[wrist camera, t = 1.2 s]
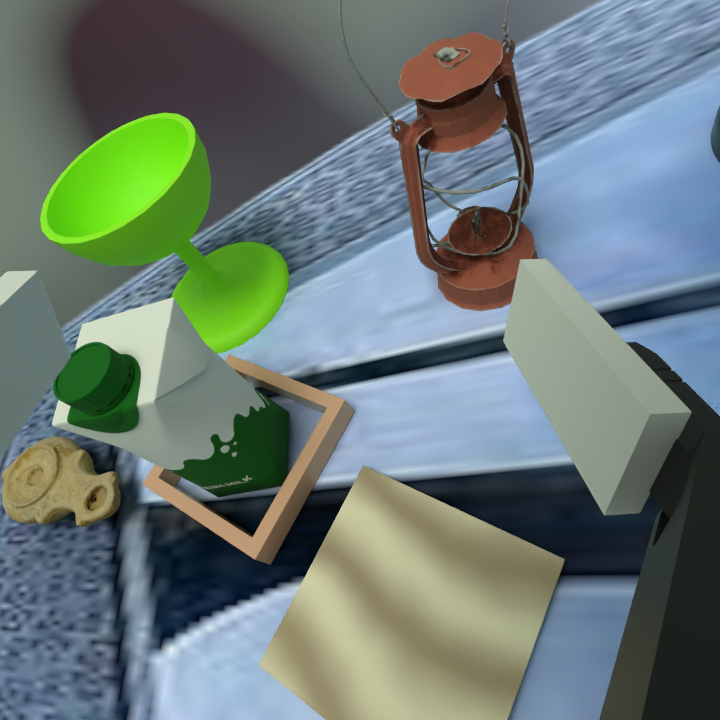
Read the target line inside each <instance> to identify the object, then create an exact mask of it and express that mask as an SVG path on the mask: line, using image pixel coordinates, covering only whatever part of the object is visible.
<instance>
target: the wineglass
mask: <svg viewBox="0 0 720 720" xmlns="http://www.w3.org/2000/svg"><path fill="white" fill-rule="evenodd" d="M210 189H211V176H210V169H209V164H208V159H207V154H206V150H205V148H204V146H203V144H202V142H201V140H200V138H199V136H198V134H197V132H196V130H195V128H194V127H193V125H192V124H191V122H190V121H189V120H188V119H187V118H185V117H183V116H181V115H179V114H171V113H161V114H155V115H149V116H145V117H143V118H140V119H137V120H134V121H132V122H129V123H127V124H125V125H123V126H121V127H119V128H117V129H115V130H113V131H111V132H110V133H109V134H107V135H106V136H104V137H102V138H101V139H99V140H98V141H97V142H95V143H94V144H92V145H91V146H90V147H89V148H88V149H86V150H85V151H84V152H83V153H82V154H80V155H79V156H78V157H77V158H76V159H75V160H74V161H73V162H72V163H71V164H70V165H69V166H68V167H67V168H66V170H65V171H64V172H63V173H62V174H61V175H60V177H59V178H58V180H57V181H56V182H55V184H54V185H53V187H52V188H51V190H50V192H49V194H48V196H47V198H46V200H45V202H44V204H43V208H42V212H41V216H40V221H41V228H42V231H43V232H44V234H45V235H46V236H47V237H48V238H49V239H50V240H51V241H53V242H54V243H56V244H58V245H59V246H61V247H62V248H64V249H65V250H67V251H68V252H70V253H72V254H74V255H77V256H80V257H83V258H86V259H89V260H92V261H95V262H98V263H101V264H104V265H117V266H139V265H143V264H147V263H151V262H154V261H157V260H159V259H162V258H164V257H167V256H169V255H171V254H173V253H174V252H175V253H176V254H177V255H178V256H179V257H180V258H181V259H182V260H183V261H184V262H185V264H186V265H187V266H188V267H189V268H190V269H189V270H188V271H187V273H186V274H185V275H184V276H183V278H182V279H181V280H180V282H179V283H178V284H177V286H176V288H175V290H174V292H173V294H172V296H171V298H174V299H175V300H176V302H177V303H178V305H179V306H180V308H181V309H182V311H183V312H184V313H185V315H186V316H187V318H188V319H189V321H190V322H191V324H192V325H193V327H194V328H195V330H196V331H197V332H198V334H199V335H200V337H201V338H202V340H203V341H204V342H205V344H207V345H208V346H209V347H210V348H211V349H212V350H213V351H214V352H215V353H216V354H217V353H222V352H226V351H228V350H230V349H233V348H235V347H237V346H240V345H242V344H243V343H245V342H246V341H248V340H249V339H251V338H252V337H254V336H255V335H257V334H258V333H259V332H260V331H261V330H262V329H263V328H264V327H265V326H266V325H267V324H268V323H269V322H270V321H271V320H272V318H273V317H274V315H275V314H276V312H277V311H278V310H279V308H280V307H281V305H282V302H283V300H284V298H285V295H286V293H287V290H288V282H289V272H288V267H287V263H286V261H285V260H284V258H283V257H282V255H281V254H280V253H279V252H278V251H276V250H275V249H273V248H272V247H270V246H268V245H265V244H261V243H257V242H239V243H235V244H231V245H227V246H224V247H222V248H220V249H218V250H215V251H213V252H211V253H210V254H208V255H207V256H205V257H203V256H202V254H201V253H200V252H199V251H198V250H197V249H196V248H195V247H194V245H193V244H192V243H191V242H190V241H189V240H190V239H191V237H192V236H193V235H194V234H195V232H196V231H197V229H198V227H199V225H200V223H201V222H202V220H203V218H204V216H205V214H206V212H207V208H208V204H209V199H210Z"/></svg>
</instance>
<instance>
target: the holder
mask: <svg viewBox="0 0 720 720" xmlns="http://www.w3.org/2000/svg"><path fill="white" fill-rule="evenodd" d="M225 362H226V363H227V364H229V365H230V366H231V367H232V368H233V369H234V370H235V371H236V372H237V373H239V374H240V375H241V376H242V377H243V378H244V379H245V380H246V381H249V382H251V383H254V384H256V385H258V386H261V387H263V388H265V389H268V390H270V391H272V392H275V393H277V394H280V395H282V396H284V397H287V398H289V399H291V400H294V401H296V402H299V403H301V404H303V405H306V406H308V407H310V408H313V409H315V410H317V411H320V412H322V413H324V414H323V415H322V417H321V419H320V421H319V422H318V424H317V426H316V428H315V429H314V431H313V433H312V435H311V436H310V438H309V440H308V442H307V443H306V445H305V447H304V449H303V450H302V452H301V454H300V456H299V457H298V459H297V461H296V462H295V464H294V466H293V468H292V469H291V471H290V473H289V475H288V476H287V478H286V480H285V482H284V483H283V485H282V487H281V489H280V490H279V492H278V494H277V496H276V497H275V499H274V501H273V503H272V504H271V506H270V508H269V510H268V511H267V513H266V515H265V517H264V518H263V520H262V522H261V524H260V525H259V527H258V529H257V531H256V532H255V534H254V535H253V534H251V533H250V532H248V531H246V530H245V529H243V528H242V527H240V526H238V525H237V524H235V523H234V522H232V521H231V520H229V519H227V518H226V517H224V516H223V515H221V514H220V513H218V512H216V511H215V510H213V509H212V508H210V507H209V506H207V505H205V504H204V503H202V502H201V501H199V500H198V499H196V498H194V497H193V496H191V495H190V494H188V493H186V492H185V491H183V490H182V489H180V488H179V487H177V486H175V485H176V484H177V482H178V480H179V479H180V476H178V475H176V474H174V473H172V472H170V471H168V470H166V469H164V468H162V467H160V466H158V465H156V464H155V466H154V467H153V469H152V470H151V472H150V473H149V475H148V476H147V478H146V479H145V481H144V482H143V485H144V486H146V487H147V488H149V489H150V490H152V491H153V492H155V493H156V494H158V495H159V496H161V497H162V498H164V499H165V500H167V501H168V502H170V503H171V504H173V505H174V506H176V507H177V508H179V509H180V510H182V511H183V512H185V513H186V514H188V515H189V516H191V517H192V518H194V519H195V520H197V521H198V522H200V523H201V524H203V525H204V526H206V527H207V528H209V529H210V530H212V531H213V532H215V533H216V534H218V535H219V536H221V537H222V538H224V539H225V540H227V541H228V542H230V543H231V544H233V545H234V546H236V547H237V548H239V549H240V550H242V551H243V552H245V553H246V554H248V555H249V556H251V557H252V558H254V559H255V560H258V561H261V562H264V563H267V564H270V565H271V563H272V561H273V559H274V557H275V555H276V554H277V552H278V550H279V548H280V546H281V545H282V543H283V541H284V539H285V537H286V535H287V534H288V532H289V530H290V528H291V526H292V525H293V523H294V521H295V519H296V517H297V515H298V514H299V512H300V510H301V508H302V506H303V505H304V503H305V501H306V499H307V497H308V496H309V494H310V492H311V490H312V488H313V486H314V485H315V483H316V481H317V479H318V477H319V476H320V474H321V472H322V470H323V468H324V466H325V465H326V463H327V461H328V459H329V457H330V456H331V454H332V452H333V450H334V448H335V446H336V445H337V443H338V441H339V439H340V437H341V436H342V434H343V432H344V430H345V428H346V427H347V425H348V423H349V421H350V419H351V417H352V416H353V414H354V411H353V409H352V408H351V407H350V406H349V405H348V403H347V402H346V401H345V400H343V399H341V398H338V397H336V396H333V395H331V394H328V393H326V392H323V391H321V390H318V389H315V388H313V387H310V386H308V385H305V384H303V383H300V382H298V381H295V380H293V379H290V378H288V377H285V376H283V375H280V374H277V373H275V372H272V371H270V370H267V369H265V368H262V367H260V366H257V365H255V364H252V363H250V362H247V361H245V360H242V359H240V358H237V357H234V356H232V355H228V357H227V358H226V360H225Z"/></svg>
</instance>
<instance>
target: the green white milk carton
mask: <svg viewBox="0 0 720 720" xmlns="http://www.w3.org/2000/svg"><path fill="white" fill-rule="evenodd" d="M53 390H54V394H55V396H56V397H57V398H58V399H59V400H58V404H57V407H56V411H55V414H54V418H53V422H52V425H53V426H54V427H57V428H60V429H63V430H66V431H70V432H73V433H76V434H79V435H82V436H86V437H89V438H92V439H95V440H98V441H102V442H105V443H108V444H111V445H114V446H117V447H120V448H122V449H125V450H127V451H129V452H131V453H133V454H135V455H137V456H139V457H141V458H143V459H145V460H148V461H150V462H152V463H154V464H156V465H158V466H160V467H162V468H164V469H166V470H168V471H170V472H172V473H174V474H176V475H178V476H180V477H182V478H184V479H186V480H188V481H190V482H193V483H195V484H197V485H198V486H200V487H202V488H203V489H205V490H207V491H208V492H210V493H212V494H213V495H215V496H217V497H221V496H226V495H232V494H238V493H243V492H249V491H255V490H260V489H266V488H272V487H278V486H282V485H283V483H284V482H285V480H286V478H287V462H288V413H289V412H288V411H286V410H285V409H283V408H282V407H281V406H279V405H278V404H276V403H275V402H273V401H272V400H270V399H269V398H268V397H266V396H265V395H263V394H262V393H260V392H259V391H258V390H256V389H255V388H254V387H253V386H252V385H251V384H250V383H249V382H247V381H246V380H245V379H244V378H243V377H242V376H241V375H240V374H239V373H237V372H236V371H235V370H234V369H233V368H232V367H231V366H230V365H229V364H227V363H226V362H225V361H224V360H223V359H222V358H221V357H220V356H219V355H217V354H216V353H215V352H214V351H213V350H212V349H211V348H210V347H209V346H208V345H207V344H205V342H204V341H203V340H202V338H201V337H200V335H199V334H198V332H197V331H196V330H195V328H194V327H193V325H192V324H191V322H190V321H189V319H188V318H187V316H186V315H185V313H184V312H183V311H182V309H181V308H180V306H179V305H178V303H177V302H176V300H175V299H174V298H170V299H166V300H163V301H159V302H156V303H153V304H149V305H146V306H143V307H139V308H136V309H132V310H129V311H126V312H122V313H119V314H115V315H112V316H109V317H105V318H102V319H98V320H95V321H92V322H88V323H85V324H83V325H82V328H81V331H80V334H79V338H78V341H77V345H76V348H75V351H74V352H72V353H71V358H70V359H69V361H68V362H67V363H66V365H65V366H64V368H63V369H62V371H61V372H60V373H59V375H58V376H57V378H56V379H55V381H54V384H53Z"/></svg>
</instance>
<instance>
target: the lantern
mask: <svg viewBox="0 0 720 720" xmlns="http://www.w3.org/2000/svg"><path fill="white" fill-rule="evenodd" d="M508 6H509V0H507V5H506V12H505V19H504V25H503V28H504V29H505V32H504V33H503V35H504V39H503V45H502V47H501V44H500V42H499V41H498V40H496V39H489V38H488V37H486V36H485V35H483V34H479V33H475V32H473V33H469V34H465V35H463V36H460V37H458V38H445V39H441V40H437V41H435V42H434V43H432V44H430V45H429V46H427V47H426V49H424V50H423V51H422V53H420V54H419V55H417V56H416V57H413V58H411V59H410V60H409V61H407V62H406V63H405V65H404V67H403V69H402V72H401V77H400V81H399V86H400V88H401V90H402V92H403V93H404V94H405V95H406V96H407V97H408V98H411V99H415V101H416V105H417V116H418V117H417V118H416V119H414V120H413V121H411V122H410V123H409V124H407V123H406V122H404V121H402V120H400V119H398V120H396V121H395V120H394V118H393V115H389V114H388V112H387V111H386V110H385V108H384V107H383V106H382V104H381V103H380V102H379V100H378V99H377V98H376V96H375V95H374V94H373V92H372V91H371V90H370V88H369V87H368V86H367V84H366V83H365V82H364V80H363V78H362V77H361V75H360V74H359V72H358V70H357V69H356V67H355V66H354V63H353V62H352V59H351V57H350V55H349V52H348V49H347V45H346V42H345V37H344V32H343V26H342V15H341V0H339V21H340V30H341V35H342V40H343V44H344V48H345V51H346V54H347V57H348V59H349V61H350V63H351V65H352V67H353V69H354V71H355V72H356V73H357V75H358V77H359V78H360V80H361V81H362V83H363V84H364V86H365V87H366V88H367V90H368V91H369V92H370V94H371V95H372V96H373V97H374V99H375V100H376V101H377V103H378V104H379V105H380V107H381V108H382V109H383V114H384V116H385V117H389V119H390V121H391V123H392V125H391V127H390V133H391V135H392V136H393V138H395V139H396V140H397V141H399V148H400V154H401V160H402V167H403V173H404V179H405V185H406V191H407V198H408V204H409V210H410V216H411V223H412V229H413V235H414V241H415V248H416V254H417V256H418V258H419V260H420V262H421V263H422V264H423V265H424V266H425V267H427V268H429V269H431V270H433V271H435V272H437V274H438V287H439V289H440V290H441V292H442V293H443V295H444V296H445V298H446V299H447V300H448V301H450V302H452V303H453V304H455V305H457V306H459V307H460V308H464V309H470V310H477V311H484V310H490V309H496V308H502V307H504V306H506V305H508V304H510V303H511V301H512V297H513V292H514V287H515V282H516V277H517V273H518V268H519V263H520V259H538V257H537V252H536V251H535V246H534V241H533V236H532V233H531V232H530V231H529V230H528V228H527V227H526V226H525V225H524V224H523V223H522V222H520V219H521V217H522V215H523V213H524V211H525V208H526V207H527V205H528V204H529V198H530V195H531V190H532V185H533V175H534V166H533V161H532V156H531V151H530V146H529V141H528V136H527V131H526V126H525V121H524V116H523V111H522V106H521V101H520V96H519V91H518V86H517V81H516V76H515V71H514V66H513V62H512V59H513V55H514V51H515V42H514V41H513V40H511V39H509V36H508V32H509V28H508V26H507V25H506V22H507V13H508ZM506 37H507V41H505V40H506ZM508 45H509V46H508ZM506 48H510V49H509V51H508V52H506ZM495 83H498V87H499V91H500V95H501V98H500V97H499V96H498V95H497V94H496V92H495V86H494V84H495ZM505 117H506V120H507V124H508V126H507V125H505V124H503V122H504V120H505ZM398 125H400V129H399V128H398V127H397V126H398ZM500 127H502V128H505V129H507V130H508V131H509V132H510V136H511V140H512V145H513V149H514V153H515V157H516V161H517V166H518V172H519V177H510V178H507V179H504V180H502V181H499V182H497V183H494V184H492V185H490V186H486V187H483V188H479V189H475V190H463V191H451V190H444V189H437V188H434V187H433V186H432V185H431V184H430V183H429V182H428V181H426V180H425V179H424V170H425V166H426V162H427V158H428V156H429V154H430V152H431V151H432V152H435V153H454V152H457V151H461V150H465V149H469V148H472V147H474V146H476V145H478V144H480V143H481V142H483V141H485V140H487V139H489V138H490V137H491V136H492V135H493V134H494V133H495V132H496V131H497V130H498V129H499V128H500ZM395 128H396V129H397V131H398V130H399V131H398V132H395ZM418 144H419V145H420V146H421V147H422V148H424V149H427V150H428V152H427V153H426V155H425V159H424V163H423V167H422V171H421V165H420V157H419V149H418ZM512 180H519V182H518V187H517V190H516V193H515V196H514V199H513V201H512V204H511V206H510V209H509V211H508V212H507V213H505V212H504V211H502V210H500V209H497V208H495V207H479V206H471V207H468V208H465V209H463V210H462V209H459V208H457V207H455V206H453V205H451V204H449V203H448V202H447V201H446V200H445V199H443V198H442V197H441V196H440V194H439V193H438V192H440V193H447V194H474V193H478V192H482V191H485V190H489V189H492V188H494V187H497V186H499V185H501V184H504V183H506V182H509V181H512ZM423 182H424V183H426V184H427V185H429V186H426V185H423ZM423 188H424V189H427V190H431V191H434V192H435V194H436V195H437V196H438V197H439V198H440V199H441V200H442V201H443V202H444V203H445V204H447V205H448V206H449V207H451V208H453V209H455V210H458V211H460V212H459V213H458V215H457V219H456V220H455V221H454V222H453V223H452V224H451V226H450V228H449V231H448V234H447V235H446V236H445V237H444V238H443V239H442V240H441V241H440V242H439V241H438V240H436V239H435V238H434V236H433V235H432V233H431V231H430V230H429V228H428V224H427V215H426V207H425V199H424V190H423ZM429 234H430V236H431V238H432V240H433V241H435V242H436V243H437V244H431V242H430V238H429ZM434 247H438V248H437V251H435V250H434V249H433V248H434Z"/></svg>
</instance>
